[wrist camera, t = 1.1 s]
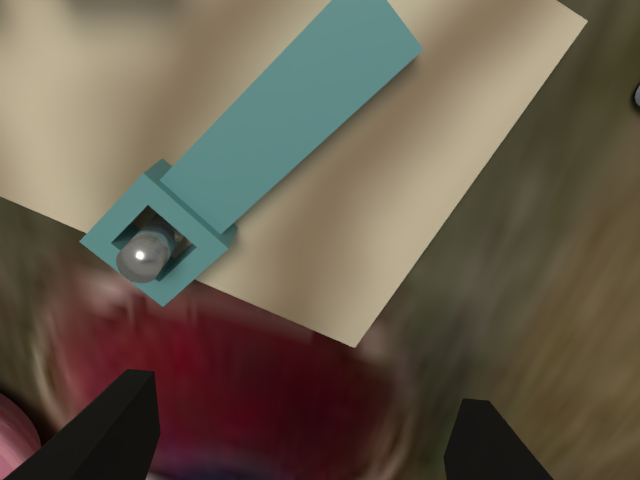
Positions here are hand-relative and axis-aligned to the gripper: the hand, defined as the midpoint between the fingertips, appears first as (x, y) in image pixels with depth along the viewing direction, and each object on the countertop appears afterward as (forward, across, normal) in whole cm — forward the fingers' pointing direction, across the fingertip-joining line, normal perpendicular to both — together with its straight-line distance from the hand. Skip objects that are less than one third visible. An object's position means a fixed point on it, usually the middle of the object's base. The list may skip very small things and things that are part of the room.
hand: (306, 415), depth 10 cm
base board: (+9, +4, -6) cm, 12 cm away
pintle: (+8, +6, -1) cm, 10 cm away
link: (+8, +3, -4) cm, 10 cm away
